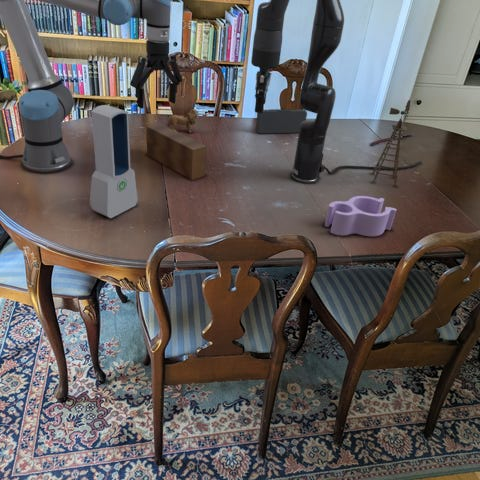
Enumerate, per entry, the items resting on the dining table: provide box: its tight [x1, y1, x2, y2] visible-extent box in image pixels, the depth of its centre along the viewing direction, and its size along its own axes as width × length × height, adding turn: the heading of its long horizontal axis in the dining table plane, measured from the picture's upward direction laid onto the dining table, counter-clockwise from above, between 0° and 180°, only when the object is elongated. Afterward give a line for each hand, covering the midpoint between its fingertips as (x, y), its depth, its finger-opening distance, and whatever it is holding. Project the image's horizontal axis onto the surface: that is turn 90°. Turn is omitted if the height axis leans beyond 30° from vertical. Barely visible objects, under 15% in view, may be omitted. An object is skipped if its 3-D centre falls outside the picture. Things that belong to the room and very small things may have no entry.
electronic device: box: [89, 104, 139, 219], centre depth 131 cm, size 12×8×30 cm, turn 148°
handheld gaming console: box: [255, 108, 308, 134], centre depth 205 cm, size 23×3×10 cm, turn 108°
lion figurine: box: [166, 108, 200, 133], centre depth 195 cm, size 15×5×9 cm, turn 110°
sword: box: [370, 134, 411, 146], centre depth 212 cm, size 31×3×1 cm, turn 126°
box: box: [145, 122, 208, 181], centre depth 166 cm, size 26×6×11 cm, turn 45°
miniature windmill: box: [371, 99, 411, 187], centre depth 166 cm, size 9×8×30 cm
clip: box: [324, 195, 398, 237], centre depth 141 cm, size 20×12×7 cm, turn 109°
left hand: (156, 104), depth 164 cm, fingers open, 13 cm apart
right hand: (260, 107), depth 132 cm, fingers open, 8 cm apart
